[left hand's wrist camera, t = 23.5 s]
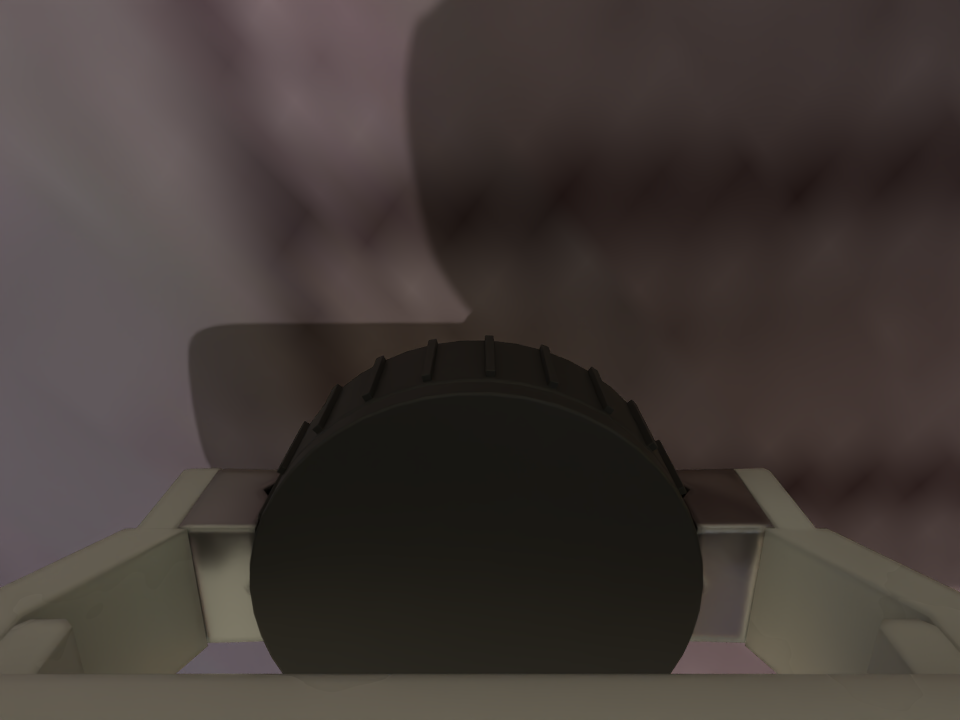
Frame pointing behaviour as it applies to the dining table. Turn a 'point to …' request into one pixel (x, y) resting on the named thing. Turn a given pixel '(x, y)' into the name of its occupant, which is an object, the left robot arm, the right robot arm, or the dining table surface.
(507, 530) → the lid
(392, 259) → the dining table surface
